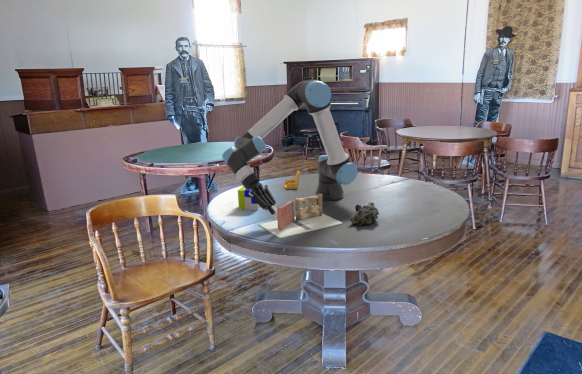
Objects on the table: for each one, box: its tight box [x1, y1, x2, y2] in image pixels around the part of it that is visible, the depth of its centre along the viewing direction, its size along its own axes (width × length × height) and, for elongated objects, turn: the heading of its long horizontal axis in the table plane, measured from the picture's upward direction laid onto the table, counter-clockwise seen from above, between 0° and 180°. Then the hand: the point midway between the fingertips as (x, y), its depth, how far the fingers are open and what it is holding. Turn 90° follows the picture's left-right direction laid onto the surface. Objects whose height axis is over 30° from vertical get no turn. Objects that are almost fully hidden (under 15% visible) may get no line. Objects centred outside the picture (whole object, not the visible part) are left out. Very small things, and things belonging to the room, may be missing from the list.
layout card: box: [258, 213, 344, 239], centre depth 198 cm, size 32×20×1 cm, turn 120°
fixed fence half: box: [294, 194, 323, 220], centre depth 205 cm, size 14×2×10 cm, turn 120°
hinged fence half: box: [276, 199, 296, 230], centre depth 195 cm, size 14×2×10 cm, turn 154°
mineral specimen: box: [348, 201, 380, 226], centre depth 198 cm, size 15×13×10 cm
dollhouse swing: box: [283, 170, 301, 190], centre depth 261 cm, size 10×10×9 cm
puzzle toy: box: [237, 185, 262, 211], centre depth 225 cm, size 10×10×10 cm
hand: (280, 218), depth 194 cm, fingers closed
